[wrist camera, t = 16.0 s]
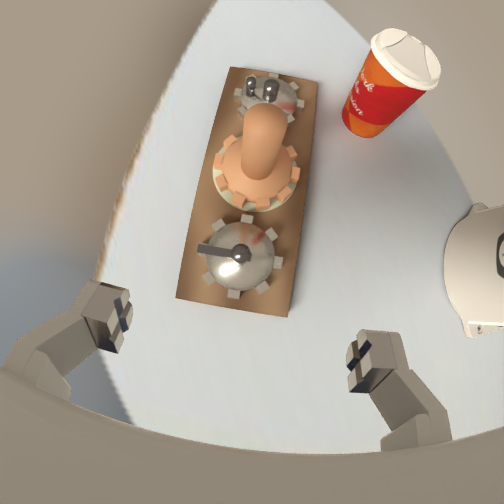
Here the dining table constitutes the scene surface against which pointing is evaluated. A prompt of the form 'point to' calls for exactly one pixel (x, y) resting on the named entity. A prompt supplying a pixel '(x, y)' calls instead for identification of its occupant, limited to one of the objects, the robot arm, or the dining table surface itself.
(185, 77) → the dining table surface
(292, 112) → the gear
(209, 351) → the dining table surface
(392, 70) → the paper cup
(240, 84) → the gear board
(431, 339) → the dining table surface
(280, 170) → the idler gear
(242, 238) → the gear
